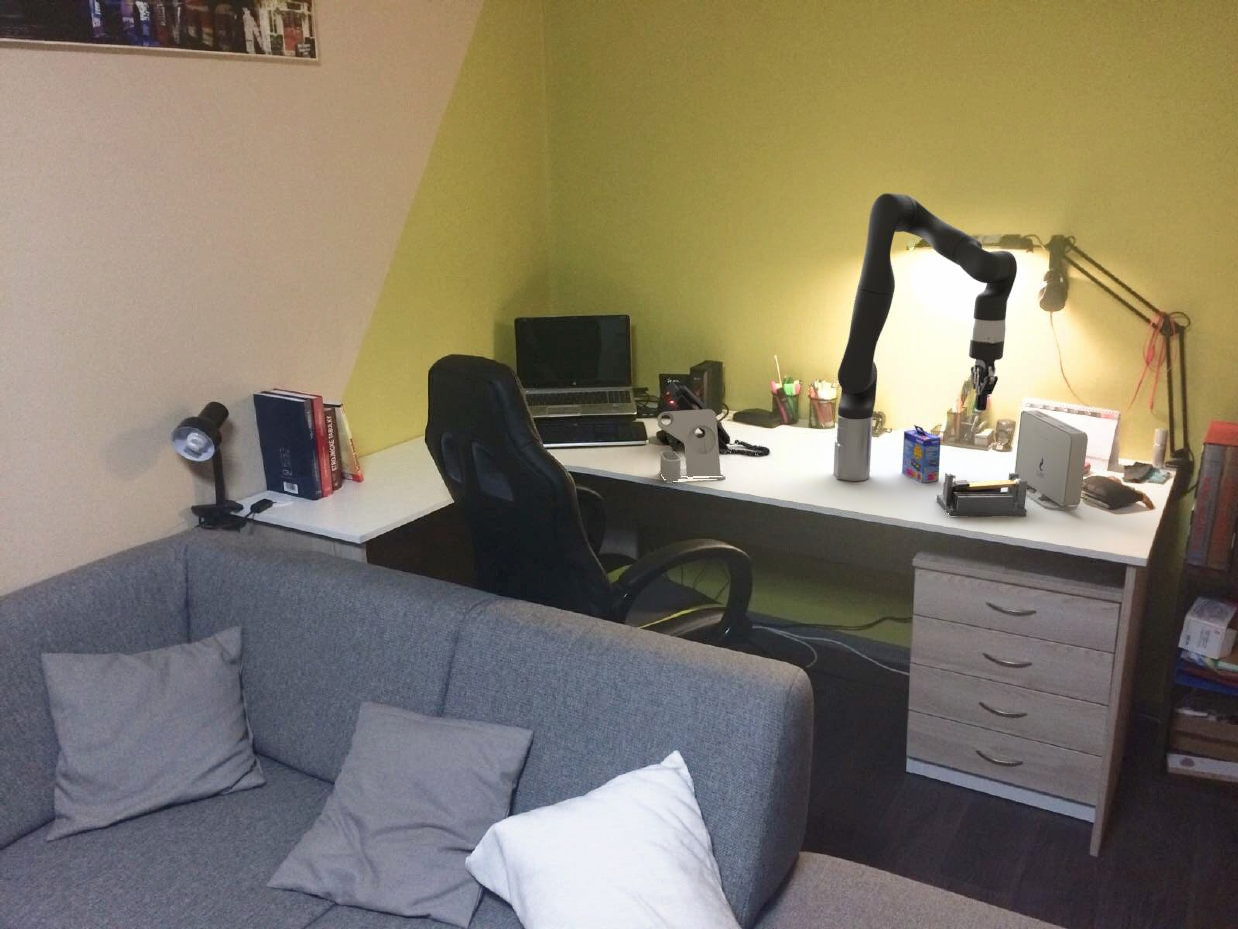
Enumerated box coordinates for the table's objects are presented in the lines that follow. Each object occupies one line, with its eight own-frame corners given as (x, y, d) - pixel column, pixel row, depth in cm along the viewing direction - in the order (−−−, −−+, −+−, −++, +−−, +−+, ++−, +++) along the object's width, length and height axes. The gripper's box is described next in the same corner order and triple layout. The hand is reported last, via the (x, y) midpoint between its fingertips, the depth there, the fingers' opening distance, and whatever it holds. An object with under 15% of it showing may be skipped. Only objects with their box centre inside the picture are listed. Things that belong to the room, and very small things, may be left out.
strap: (957, 493, 236) (957, 485, 236) (952, 488, 240) (953, 480, 240) (1024, 488, 236) (1024, 480, 235) (1018, 483, 239) (1018, 475, 239)
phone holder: (664, 483, 264) (663, 419, 259) (657, 472, 273) (657, 410, 268) (726, 479, 266) (727, 415, 261) (717, 469, 276) (718, 407, 270)
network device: (1005, 482, 258) (1012, 409, 253) (1037, 481, 259) (1045, 408, 253) (1054, 515, 234) (1064, 435, 228) (1089, 513, 235) (1099, 433, 229)
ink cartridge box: (900, 473, 268) (903, 422, 264) (917, 470, 270) (920, 420, 266) (921, 483, 259) (925, 431, 255) (939, 481, 261) (943, 428, 257)
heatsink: (950, 517, 234) (953, 481, 231) (936, 500, 246) (939, 466, 243) (1028, 516, 233) (1032, 480, 231) (1010, 500, 245) (1013, 466, 242)
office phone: (772, 456, 287) (774, 390, 281) (677, 461, 284) (677, 394, 279) (750, 431, 315) (751, 370, 309) (663, 435, 312) (663, 374, 307)
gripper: (962, 333, 234) (956, 403, 239) (980, 342, 222) (973, 416, 227) (994, 333, 234) (987, 403, 239) (1013, 342, 221) (1005, 416, 226)
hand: (980, 409), depth 233 cm, fingers closed
